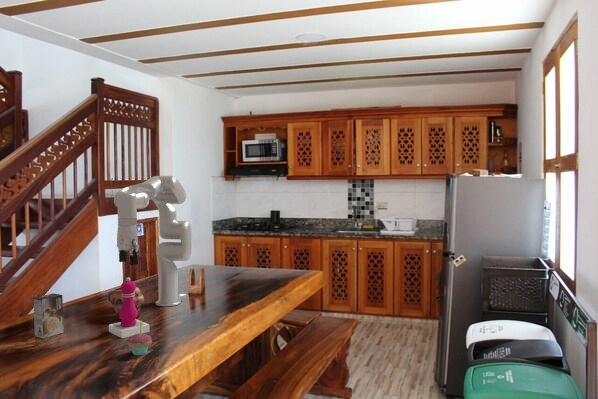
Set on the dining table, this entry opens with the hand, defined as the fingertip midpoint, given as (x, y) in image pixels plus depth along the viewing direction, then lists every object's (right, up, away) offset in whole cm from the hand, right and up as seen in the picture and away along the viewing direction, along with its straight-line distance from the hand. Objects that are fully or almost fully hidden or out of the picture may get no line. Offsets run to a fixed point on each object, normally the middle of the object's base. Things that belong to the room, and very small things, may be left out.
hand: (128, 263), depth 209 cm
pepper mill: (0, -26, 0) cm, 26 cm away
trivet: (0, -29, +1) cm, 29 cm away
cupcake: (+13, -30, -24) cm, 41 cm away
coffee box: (-32, -29, -3) cm, 43 cm away
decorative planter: (-9, -28, +23) cm, 37 cm away
